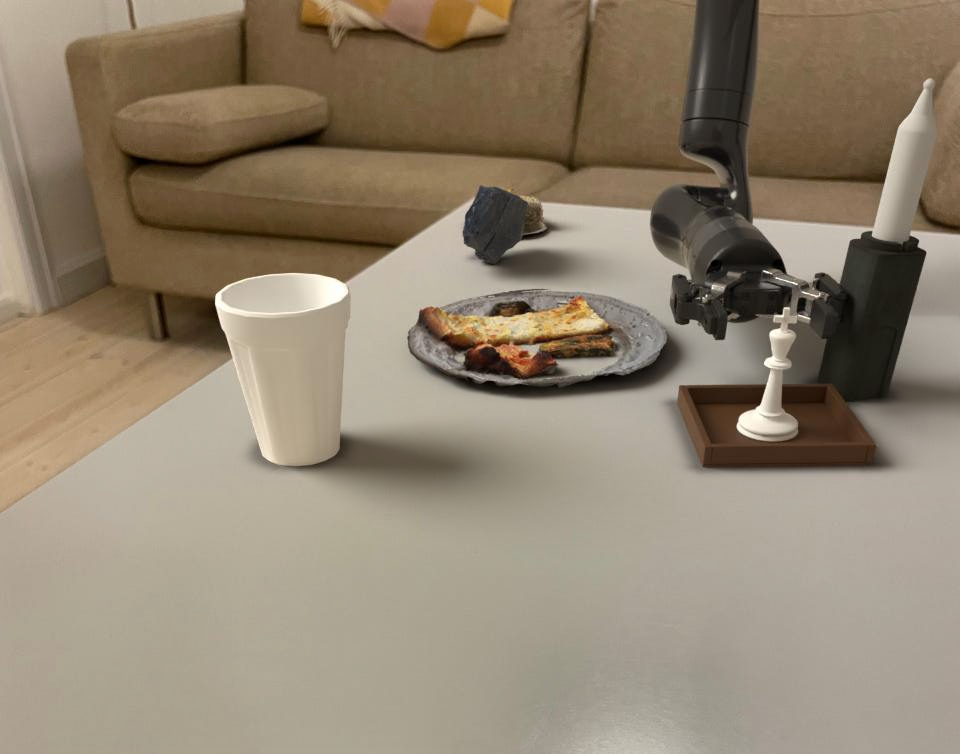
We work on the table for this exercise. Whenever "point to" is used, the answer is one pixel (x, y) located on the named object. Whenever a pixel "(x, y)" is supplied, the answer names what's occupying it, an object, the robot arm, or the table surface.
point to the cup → (289, 360)
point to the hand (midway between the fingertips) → (775, 327)
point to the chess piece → (773, 391)
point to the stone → (494, 223)
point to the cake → (532, 215)
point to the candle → (883, 270)
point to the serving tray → (820, 441)
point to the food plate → (534, 335)
